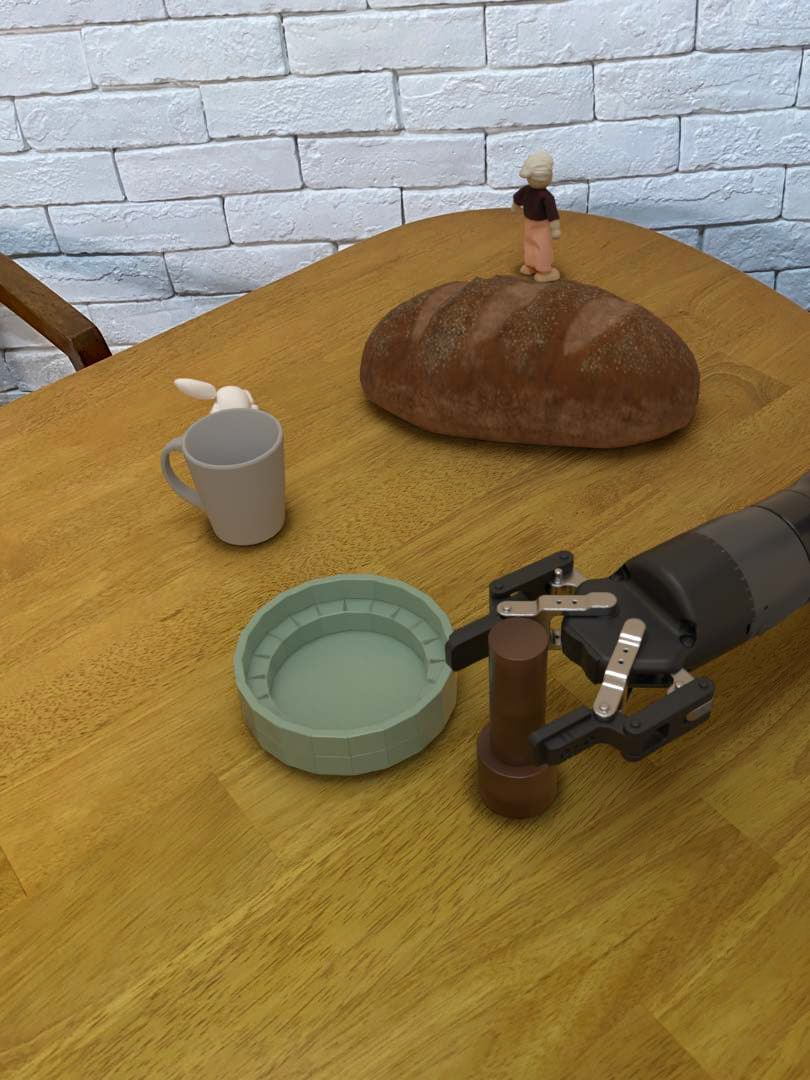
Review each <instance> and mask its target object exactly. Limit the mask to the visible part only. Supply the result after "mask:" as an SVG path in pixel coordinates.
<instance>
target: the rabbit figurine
mask: <svg viewBox="0 0 810 1080" xmlns="http://www.w3.org/2000/svg"><path fill="white" fill-rule="evenodd" d="M173 384H174V386H175V388H176V389H177V390H178V391H179V392H180V393H182V394H183V395H185V396H187V397H189V398H192V399H196V400H200V401H201V400H202V401H210V400H214V399H215V402H214V404H213V406H212V408H211V409H210V411H209V414H211V413H214V412H218V411H221V410H225V409H232V408H251V409H258V410H260V406H259V405H257V404H255V399H254V398H253V396H252V395H251V393H250V391H249V390H248V389H243V388H241V387H239V386H236V385H226V386H222V387H221V388H219V389H218V390H217V389H216V387H215V386H214V385H213V384H211V383H209V382H205V381H202V380H197V379H193V378H186V377H185V378H176V379H175V380H174V381H173Z"/></svg>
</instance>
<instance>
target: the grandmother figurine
mask: <svg viewBox="0 0 810 1080" xmlns="http://www.w3.org/2000/svg"><path fill="white" fill-rule="evenodd" d="M554 164H555V163H554V158H553V156H552V155H551V153H549V152H548V151H545V150H543V151H537V152H534V153H532V154H530V155H529V156H528V157H527V158H526V159H525V161H524V162H523V163H522V165H521V169H520V170H519V172H518V176H519V177H520V178H522V179H526V181H527V184H526V185H524V186H522V187H520V188H519V189H517V191H516V192H515V193H513V195H512V204H511V207H510V212H511V213H513V214H515V215H517V214H519V213H520V212H521V210H522V211H523V212H522V213H523V216H524V218H525V226H524V236H523V237H524V239H523V247H524V259H523V260H524V264H523V265H522V266H521V267H520V268H519V272H520V273H521V274H523V275H526V276H530V275H533V274H534V276H533V280H534V281H540V282H546V283H550V282H554V281H556V280H561V273H560V271H559V269H557V268H556V267H552V264H553V263H554V253H553V242H552V241H553V240H559V239H561V237H562V231H561V223H560V214H559V213H560V212H559V210H558V207H557V203H556V198H555V195H554V194H553V193H552V192H550V191H549V189H548V188H547V187H549V185H550V184H551V183H552V181H553V176H554V173H553V170H554V168H553V167H554Z"/></svg>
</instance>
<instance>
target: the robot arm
mask: <svg viewBox="0 0 810 1080" xmlns="http://www.w3.org/2000/svg"><path fill="white" fill-rule="evenodd" d="M574 563H575V555H574V554H573V552H571V551H569V550H566V549H565V550H564V549H563V550H559V551H556V552H554V553H552V554H549V555H547V556H544V557H542V558H541V559H538V560H536V561H534V562H532V563H530V564H529V563H528V565H525V566H522V567H521V568H518V569H516V570H513V571H512V572H509V573H507V574H505V575H503V576H500V577H499V578H496V579H493V580H492V581H490V583H489V584H488V611H489V612H488V614H486V615H484V616H482V617H480V618H478V619H475V620H474V621H472V622H470V623H468V624H466V625H463V626H461V627H459V628H456V629H455V630H453V631H454V632H453V633H452V634H451V635H450V636H449V640H448V641H447V642H446V644H445V660H446V663H447V665H448V666H449V667H450V668H451V669H452V670H453V671H454V672H457V671H458V672H459V671H462V670H464V669H466V668H467V667H470V666H472V665H474V664H476V663H478V662H480V661H482V660H484V659H486V658H489V657H488V636H489V633H490V631H491V629H492V628H493V626H495V625H496V624H497V623H498V622H500V621H502V620H504V619H508V618H513V617H522V618H528V619H531V620H534V621H535V622H537V623H539V624H540V625H541V626H542V627H543V628H544V629H545V631H546V632H547V635H548V651H561V653H562V654H563V655H564V656H565V657H566V658H567V659H568V660H569V661H570V662H572V663H574V664H576V665H577V666H578V667H580V668H581V669H582V671H583V673H584V675H585V676H586V679H588V680H589V681H590V682H591V683H592V684H593V685H594V686H596V685H598V684H599V685H601V686H600V688H599V689H598V692H597V695H596V697H595V700H594V702H593V705H592V707H591V708H590V709H589V708H588V707H587V706H586V705H585V704H582V705H580V706H578V707H576V708H575V709H574V710H571V711H569V712H567V713H565V714H563V715H562V716H560V717H558V718H556V719H554V720H552V721H550V722H549V723H546V724H547V725H545V726H543V727H541V728H539V729H537V730H535V731H534V732H532V733H531V734H530V735H529V737H528V738H527V758H528V759H529V760H530V761H531V762H532V763H533V764H534V766H536V767H539V766H542V765H543V764H545V763H546V764H547V765H548V766H554V765H558V766H560V765H561V764H563V763H565V762H566V761H568V760H571V759H572V758H574V757H576V756H578V755H579V754H581V753H583V752H584V751H586V750H589V749H590V748H592V747H594V746H596V745H598V746H599V745H600V746H607V745H608V746H611V747H612V748H614V749H616V750H618V751H620V755H621V757H622V759H623V760H624V761H626V762H629V763H638V762H640V761H642V760H643V759H645V758H646V757H649V756H650V755H652V754H654V753H655V752H657V751H658V750H660V749H662V748H664V747H665V746H667V745H668V744H671V743H672V742H674V741H675V740H677V739H679V738H680V737H682V736H684V735H685V734H687V733H689V732H691V731H693V730H694V729H695V728H697V727H700V726H701V725H702V724H704V723H706V722H707V721H709V719H710V717H711V712H712V708H713V704H714V697H715V689H716V684H715V682H714V681H713V679H711V678H709V677H706V676H697V677H696V678H695V677H694V676H693V675H692V674H691V673H692V672H694V671H697V670H698V669H700V668H703V666H706V665H707V664H709V663H711V662H713V661H715V660H716V659H719V658H720V657H722V656H724V655H725V654H727V653H729V652H731V651H733V650H735V649H737V648H738V647H741V646H742V645H744V644H746V643H748V642H750V641H752V640H753V639H756V638H757V637H758V638H759V637H760V636H761V637H762V635H764V634H766V633H767V632H768V631H770V630H772V629H773V628H775V627H777V626H778V625H779V624H781V623H782V622H784V621H785V620H786V619H787V618H789V617H790V616H791V615H793V614H794V613H795V612H797V611H798V610H800V609H802V608H803V607H805V606H807V605H809V604H810V468H809V469H808V470H807V471H806V472H804V473H803V474H801V476H799V477H798V478H797V479H795V480H794V481H793V482H792V483H790V484H789V485H787V486H785V487H784V488H782V489H780V490H778V491H775V492H773V493H771V494H769V495H768V496H765V497H763V498H760V499H759V500H757V501H755V502H753V503H750V504H749V505H746V506H745V507H743V508H741V509H738V510H735V511H732V512H729V513H725V514H722V515H719V516H716V517H714V518H710V519H709V520H707V521H704V522H703V523H701V524H698V525H695V526H694V527H692V528H689V529H688V530H686V531H684V532H682V533H679V534H677V535H676V536H674V537H671V538H670V539H667V540H665V541H664V542H661V543H659V544H657V545H655V546H652V547H651V548H649V549H646V550H644V551H643V552H640V553H638V554H637V555H634V556H632V557H630V558H629V559H628V560H626V561H625V562H623V564H622V565H621V566H620V567H619V568H618V569H616V570H615V571H614V572H613V573H612V574H610V575H609V576H606V577H601V578H591V579H587V578H586V577H585V576H584V575H582V573H581V572H580V571H578V569H576V568H575V566H574ZM555 617H562V618H561V619H562V620H561V622H560V629H554V628H552V627H551V622H552V619H553V618H555ZM635 689H662V690H663V689H665V690H666V689H667V690H666V691H667V692H666V695H665V696H662V697H661V698H658V699H657V700H655V701H654V702H651V703H650V704H648V705H647V706H645V707H643V708H642V709H640V710H638V711H636V712H634V713H633V714H631V715H629V716H628V715H626V711H627V708H628V706H629V704H630V701H631V698H632V695H633V693H634V691H635Z"/></svg>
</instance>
